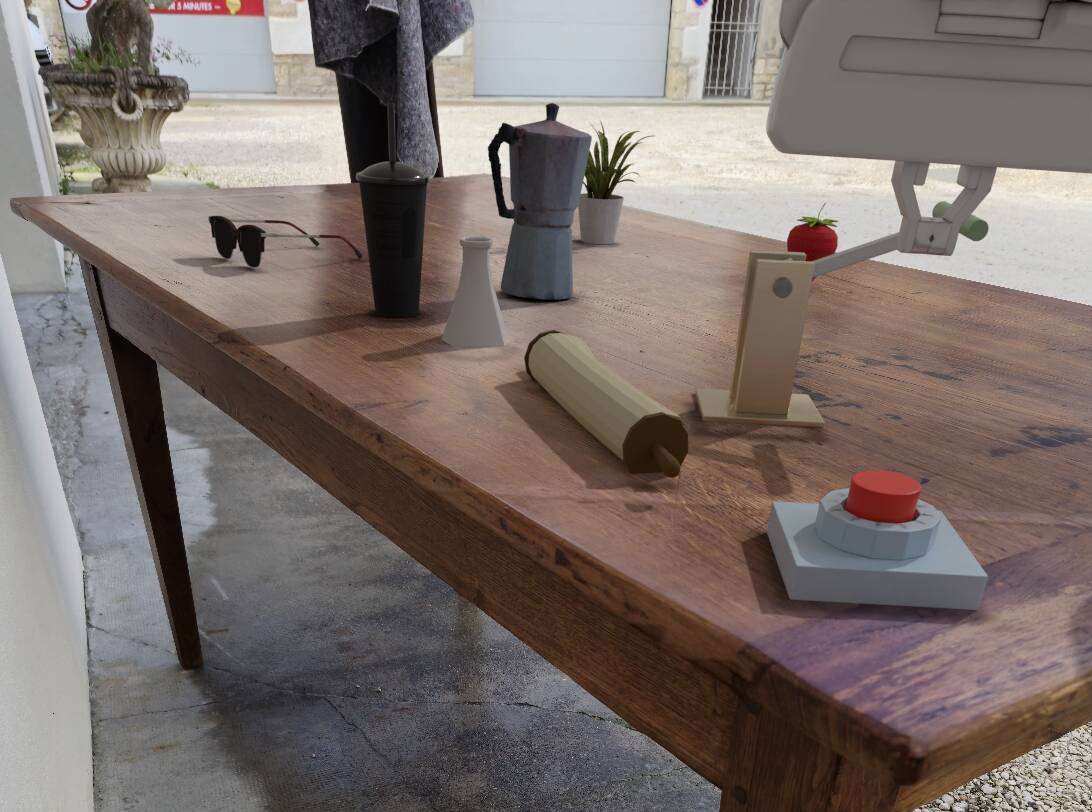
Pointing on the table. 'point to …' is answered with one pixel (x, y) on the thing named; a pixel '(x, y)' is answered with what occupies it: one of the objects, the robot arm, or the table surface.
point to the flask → (475, 301)
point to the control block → (872, 557)
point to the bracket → (767, 347)
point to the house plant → (603, 191)
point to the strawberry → (813, 238)
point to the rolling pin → (608, 405)
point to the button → (883, 497)
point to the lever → (892, 244)
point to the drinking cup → (394, 230)
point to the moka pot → (540, 203)
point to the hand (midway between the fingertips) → (923, 253)
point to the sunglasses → (253, 238)
